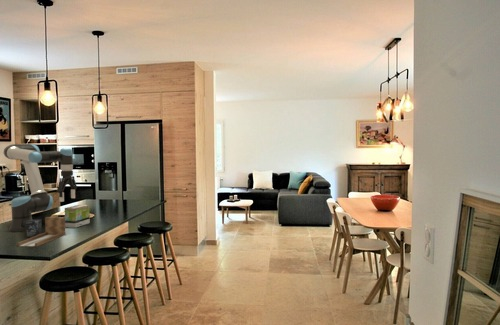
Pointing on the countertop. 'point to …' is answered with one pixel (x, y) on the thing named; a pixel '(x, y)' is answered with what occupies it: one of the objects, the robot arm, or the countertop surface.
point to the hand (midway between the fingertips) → (67, 199)
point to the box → (33, 227)
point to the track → (47, 232)
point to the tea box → (77, 216)
